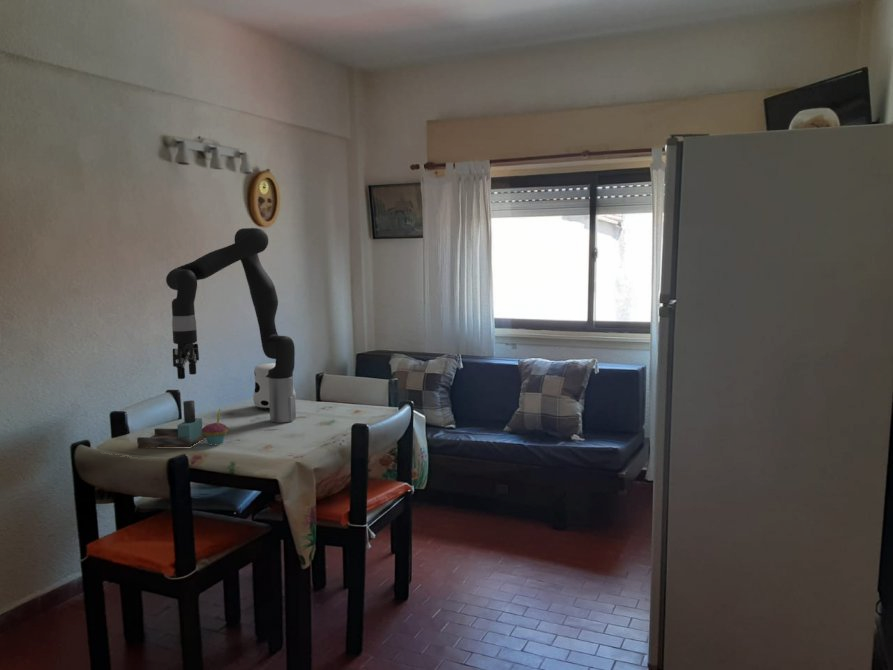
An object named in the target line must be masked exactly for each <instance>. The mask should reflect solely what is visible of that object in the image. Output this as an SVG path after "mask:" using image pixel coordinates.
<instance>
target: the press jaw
mask: <svg viewBox="0 0 893 670" xmlns="http://www.w3.org/2000/svg"><path fill="white" fill-rule="evenodd" d="M182 403H183V404H182V405H183V417H184V418H183V421H182V422H181V423H180V424H177V429H178V438H191V442H192V441H194V440H196V439H197V438H199V437H200V436H202V429H203V418H202V417H200V418H199V417H198V418H196V408H195V406H196V405H195V400H184V401H183V402H182Z"/></svg>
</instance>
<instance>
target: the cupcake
mask: <svg viewBox="0 0 893 670" xmlns="http://www.w3.org/2000/svg"><path fill="white" fill-rule="evenodd" d="M220 416H221V409H220V408H219V410H218V411H217V418H216V419H217V420H216V422H214V423H208V424H206V425H205V426H203V427H202V435H203V436H205V437H206V439H205V440H206V442H207V445H209V444H212V445H211V446H216V445H215V444H220V445H222V444H223V443H224V440H225V437H226V434H228V432H229V431H228V430H229V427H228V426H227V425H226V424H223V423H221V422H220V418H221V417H220ZM221 443H222V444H221Z"/></svg>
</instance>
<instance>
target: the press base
mask: <svg viewBox="0 0 893 670" xmlns="http://www.w3.org/2000/svg"><path fill="white" fill-rule="evenodd" d="M204 438H206V437H205V436H203V435H202V436H200V437H199V438H197V439H196V440H194V441H192V442H191V438H178V428H163V427H161V428H159V427H158V428H154V434H153V435H152V436H150V437H149V436H148V437H145V436H144V437H143V436H142V437H141V436H140V437H137V438H136V441H137V448H138V449H150V448H149V447H191V446H193V445H194V444H196V443H198V442H199V441H201V440H203V439H204ZM204 440H205V439H204ZM204 440H203V441H204ZM201 442H202V441H201ZM198 444H199V443H198ZM146 447H147V448H146Z"/></svg>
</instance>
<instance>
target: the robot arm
mask: <svg viewBox="0 0 893 670" xmlns="http://www.w3.org/2000/svg"><path fill="white" fill-rule="evenodd" d="M268 245H269V235H268V234H267V233H266V232H265V230H262V229H261V228H258V227H246V228H239V229H238V230H237V231H236V232H235V235H234V243H232V244H229V245H227V246H225V247H222V248H218V249H216V250H213V251H210V252H208V253H206V254H204V255H202V256H201V257H198V258H197V259H195V260H194V261H191V262H188V263H185V264H183V265H180V266H178V267H175V268H174V269H172V270H170V271H169V272H168V273H167V275H166V277H165V283H166V285H167V286H168V287H169V288H170V289H171V290H174V291H177V293H176V297H175V298H174V299H172V301H171V315H172V316H171V318H172V319H171V327H172V342H173V344H175V345H177V348H172V367H174V368H176V370H177V371H176V372H177V379H178V380H184V379H185V378H186V371H185V370H186V369H185V366H186V363H187V362H188V374H189V375H197V362H198V361H199V360H200V356H199V344H198V343H197V342H198V334H197V320H196V313H195V312H196V311H195V300H196V295H197V290H198V281H199V280H205V279H207V278H208V279H209V277H211V276H212V275H215V274H216V273H218V272H220V271H221V270H224V269H225V268H227V267H230V265H233V264H234V263H237V262H239V261H240V262H241V265H242V268H243V271H244V275H245V278H246V282H247V286H248V289H249V294H250V298H251V301H252V304H253V308H254V311H255V316H256V319H257V323H258V328H259V329H258V330H259V335H260V341H261V347H262V351H263V354H264V355H265V356H266V357H267V358H269V359H273V360H275V363H276V364H275V367H274V368H272V369H270V370H269V371H268V382H269V407H270V410H269V421H270V422H271V423H277V424H278V423H291V422H293V421H294V420H295V419H297V417H296V416H297V413H296V412H297V411H296V397H295V395H296V394H295V395H293V387H294V376H293V375H294V374H293V373H294V370H295V364H296V363H295V355H296V353H295V352H296V349H295V348H296V347H295V342H294V341H293V338H291V337H290V336H287V335H279V334H278V332H277V327H276V315H277V311H278V306H279V298H278V294H277V291H276V286H275V284H274V282H273V280H272V279H271V277H270V276H269V274H268V273H267V272H266V270H265V269H264V268H263V266H262V263H261V260H260V258H259V254H260V253H263V252H264V251H265V250H266V249H267V248H268Z"/></svg>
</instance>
